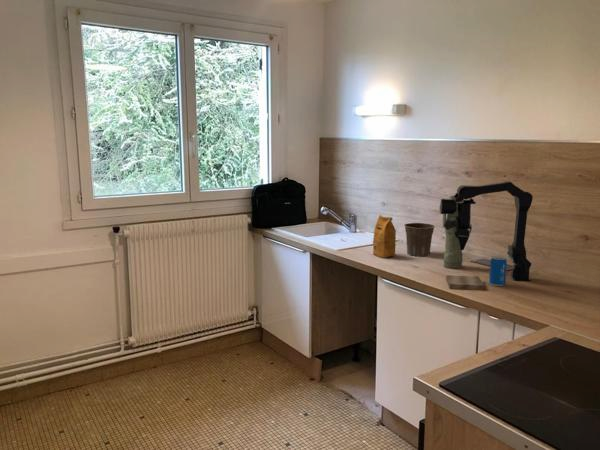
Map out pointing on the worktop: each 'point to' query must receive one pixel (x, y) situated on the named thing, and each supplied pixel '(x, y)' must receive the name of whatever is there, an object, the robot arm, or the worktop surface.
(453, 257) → the thermos
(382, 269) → the worktop surface
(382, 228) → the coffee package
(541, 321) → the worktop surface
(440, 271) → the worktop surface
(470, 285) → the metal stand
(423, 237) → the plant pot
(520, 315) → the worktop surface
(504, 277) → the beverage can
